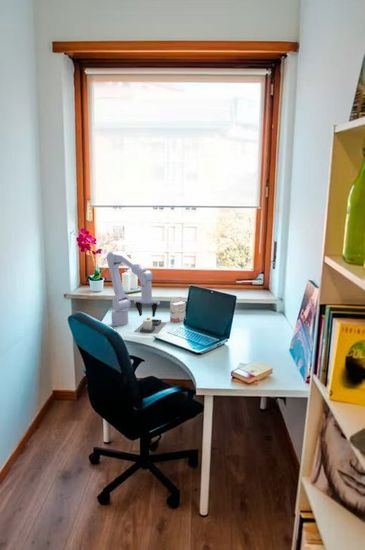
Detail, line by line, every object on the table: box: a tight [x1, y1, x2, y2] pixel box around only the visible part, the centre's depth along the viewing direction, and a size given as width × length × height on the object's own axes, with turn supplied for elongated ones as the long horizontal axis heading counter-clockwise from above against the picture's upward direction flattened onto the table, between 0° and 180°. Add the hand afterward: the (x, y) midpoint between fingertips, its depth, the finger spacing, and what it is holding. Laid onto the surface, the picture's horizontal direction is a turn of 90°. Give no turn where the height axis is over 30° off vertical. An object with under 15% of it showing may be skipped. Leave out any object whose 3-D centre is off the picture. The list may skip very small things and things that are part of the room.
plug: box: [142, 317, 153, 330], centre depth 231 cm, size 4×4×7 cm
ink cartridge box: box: [169, 296, 186, 323], centre depth 248 cm, size 9×5×15 cm, turn 130°
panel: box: [133, 318, 168, 335], centre depth 237 cm, size 14×20×2 cm
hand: (147, 315), depth 230 cm, fingers open, 7 cm apart
